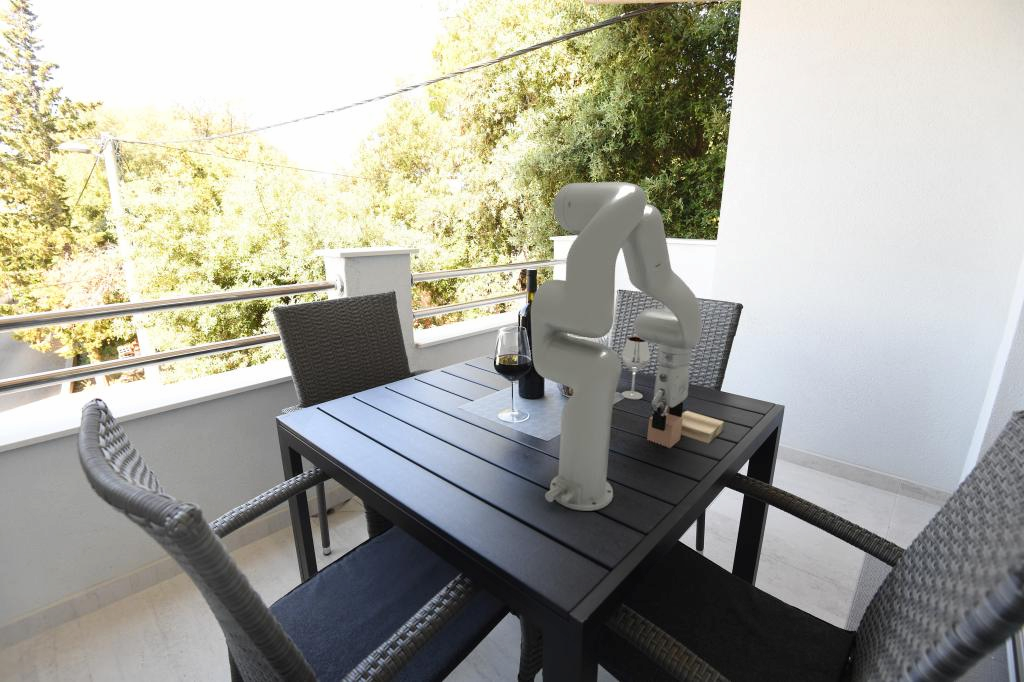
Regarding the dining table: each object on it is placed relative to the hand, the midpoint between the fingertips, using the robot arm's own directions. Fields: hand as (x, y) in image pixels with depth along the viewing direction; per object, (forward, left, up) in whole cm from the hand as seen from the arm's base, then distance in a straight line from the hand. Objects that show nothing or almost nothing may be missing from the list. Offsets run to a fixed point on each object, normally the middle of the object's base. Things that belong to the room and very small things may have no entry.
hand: (666, 422), depth 120 cm
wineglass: (+20, +20, -5) cm, 29 cm away
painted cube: (-1, 0, -5) cm, 5 cm away
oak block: (+10, -4, -5) cm, 12 cm away
